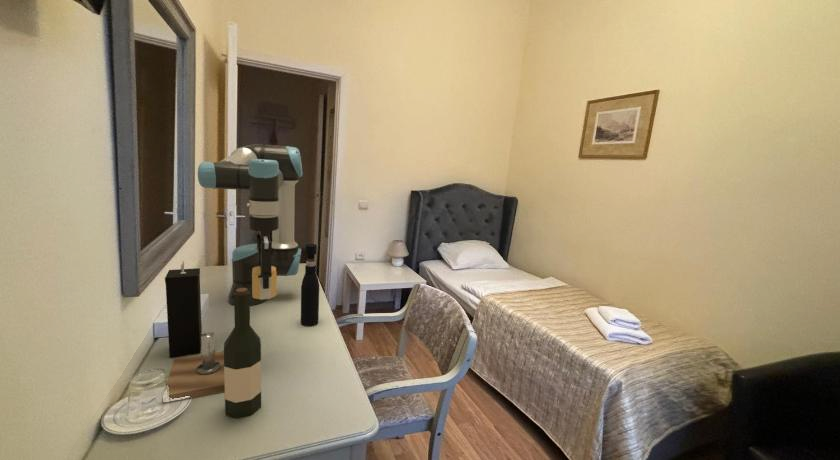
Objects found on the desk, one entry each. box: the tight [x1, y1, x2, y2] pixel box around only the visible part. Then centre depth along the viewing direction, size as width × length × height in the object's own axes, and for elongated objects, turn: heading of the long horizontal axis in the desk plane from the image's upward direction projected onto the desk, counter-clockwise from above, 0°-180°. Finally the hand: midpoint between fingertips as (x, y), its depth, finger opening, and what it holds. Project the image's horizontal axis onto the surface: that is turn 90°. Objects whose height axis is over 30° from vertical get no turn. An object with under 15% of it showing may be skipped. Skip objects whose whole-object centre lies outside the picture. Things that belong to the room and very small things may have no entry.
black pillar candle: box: [164, 260, 203, 359], centre depth 107 cm, size 8×8×28 cm
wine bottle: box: [300, 243, 320, 327], centre depth 131 cm, size 6×6×30 cm
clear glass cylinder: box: [197, 331, 221, 375], centre depth 97 cm, size 6×6×10 cm
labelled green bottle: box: [223, 288, 262, 420], centre depth 84 cm, size 8×8×30 cm
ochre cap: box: [252, 266, 278, 299], centre depth 102 cm, size 6×6×8 cm
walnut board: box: [166, 350, 225, 399], centre depth 98 cm, size 18×18×2 cm
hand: (264, 294), depth 103 cm, fingers closed on ochre cap, 6 cm apart
